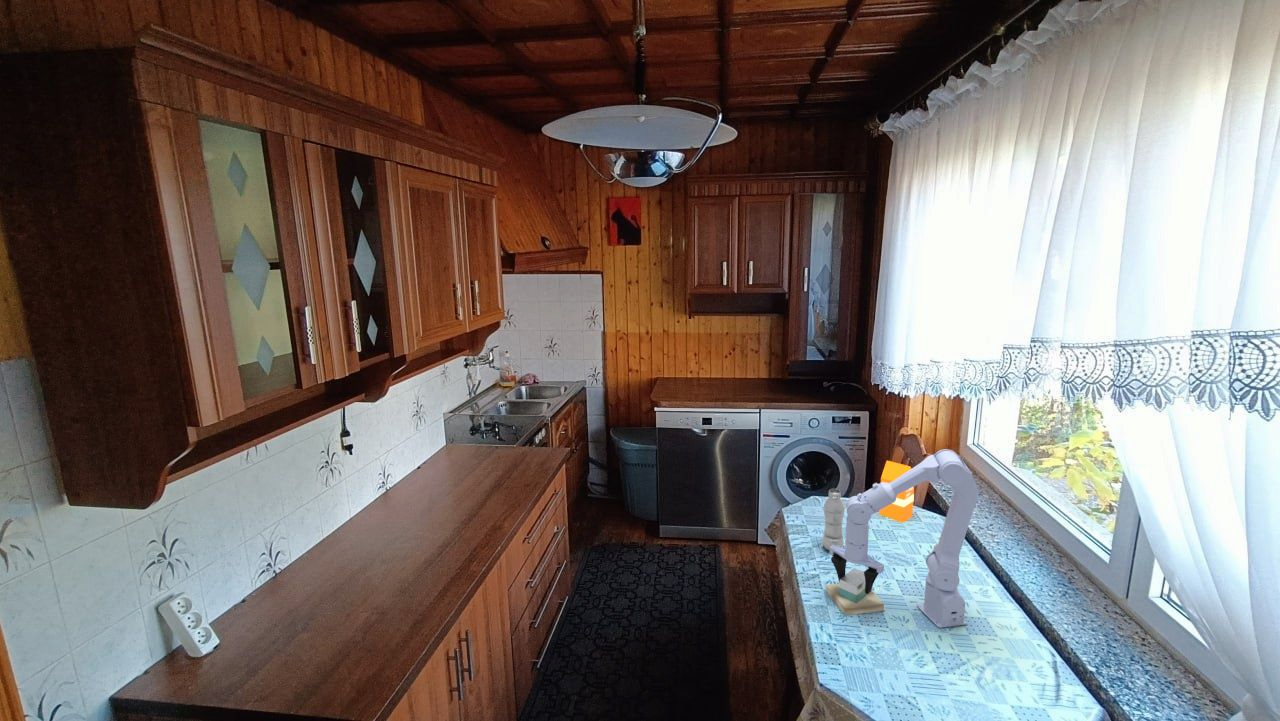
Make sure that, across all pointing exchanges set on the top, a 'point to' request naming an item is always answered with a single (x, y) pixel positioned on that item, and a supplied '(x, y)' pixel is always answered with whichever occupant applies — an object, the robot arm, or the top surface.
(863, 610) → the stand
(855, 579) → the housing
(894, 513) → the orange juice
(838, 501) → the plastic bottle
